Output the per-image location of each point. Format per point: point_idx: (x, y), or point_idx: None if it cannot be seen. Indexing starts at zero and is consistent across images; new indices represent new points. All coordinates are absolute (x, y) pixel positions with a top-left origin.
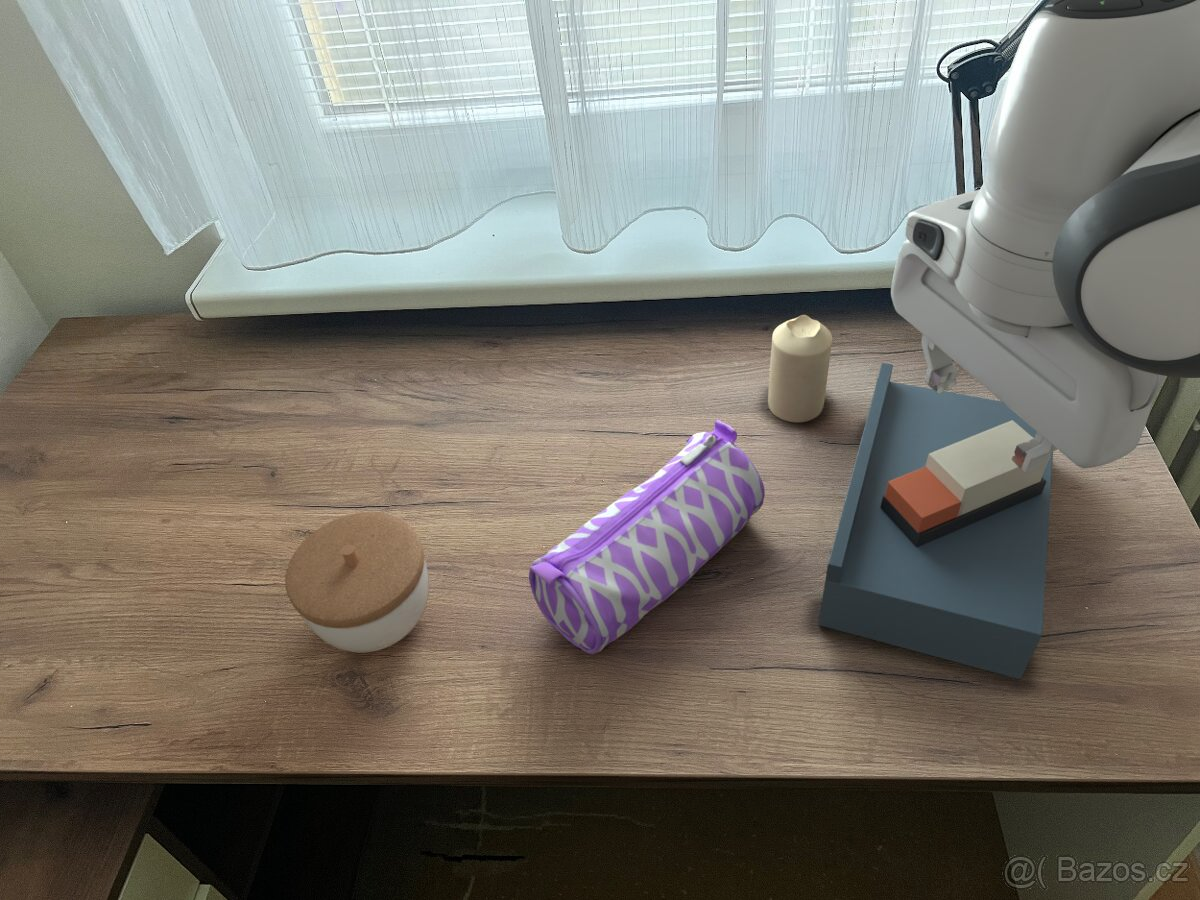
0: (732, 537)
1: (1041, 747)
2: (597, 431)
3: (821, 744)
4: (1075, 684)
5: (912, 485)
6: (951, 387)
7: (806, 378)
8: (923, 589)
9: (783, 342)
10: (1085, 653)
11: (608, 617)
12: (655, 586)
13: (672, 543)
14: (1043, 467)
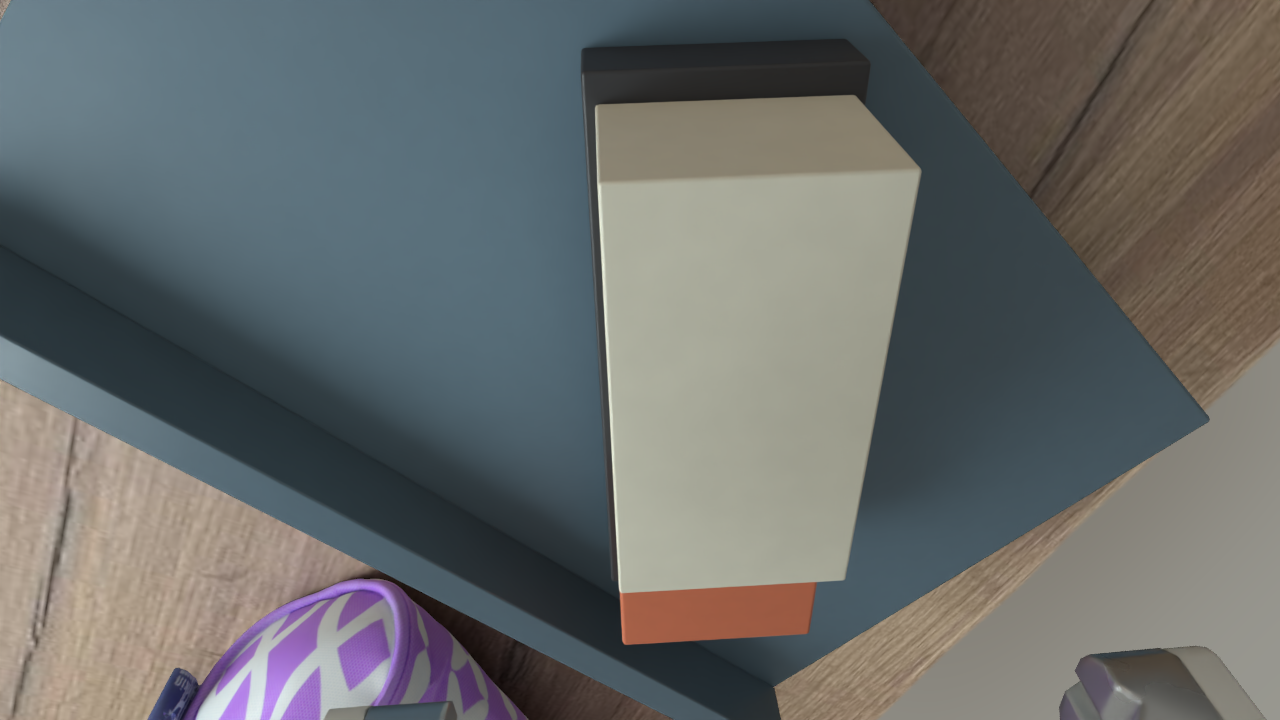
0: (475, 665)
1: (1209, 350)
2: (14, 707)
3: (925, 629)
4: (1190, 189)
5: (678, 604)
6: (450, 711)
7: None
8: (905, 570)
9: None
10: (1164, 100)
11: None
12: None
13: None
14: (1200, 647)
